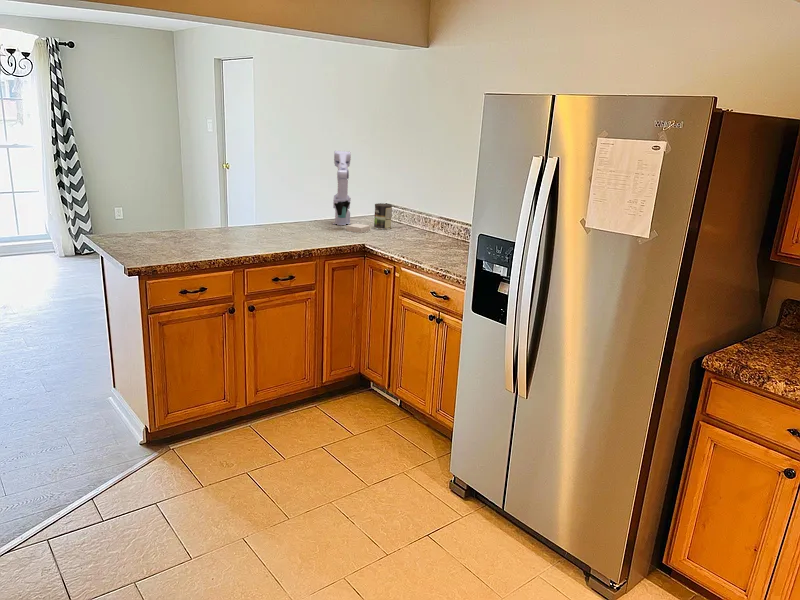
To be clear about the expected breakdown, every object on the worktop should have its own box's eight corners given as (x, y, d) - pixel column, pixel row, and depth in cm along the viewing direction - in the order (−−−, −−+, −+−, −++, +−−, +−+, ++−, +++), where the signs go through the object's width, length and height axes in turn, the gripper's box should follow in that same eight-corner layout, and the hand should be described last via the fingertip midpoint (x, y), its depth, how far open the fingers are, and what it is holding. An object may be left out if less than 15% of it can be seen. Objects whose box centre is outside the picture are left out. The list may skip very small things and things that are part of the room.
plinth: (355, 228, 359) (355, 223, 358) (370, 230, 355) (370, 225, 354) (346, 230, 350) (346, 225, 350) (361, 233, 346) (361, 227, 345)
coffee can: (376, 229, 359) (377, 205, 355) (372, 226, 369) (372, 203, 364) (393, 229, 362) (394, 205, 358) (388, 226, 372) (389, 203, 368)
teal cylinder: (340, 216, 356) (341, 206, 355) (347, 217, 354) (347, 206, 353) (336, 217, 352) (336, 206, 351) (343, 218, 350) (343, 207, 349)
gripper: (341, 192, 341) (340, 216, 345) (355, 190, 353) (354, 214, 357) (330, 191, 344) (330, 215, 348) (345, 189, 357) (344, 212, 360)
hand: (342, 214), depth 353 cm, fingers closed on teal cylinder, 4 cm apart
